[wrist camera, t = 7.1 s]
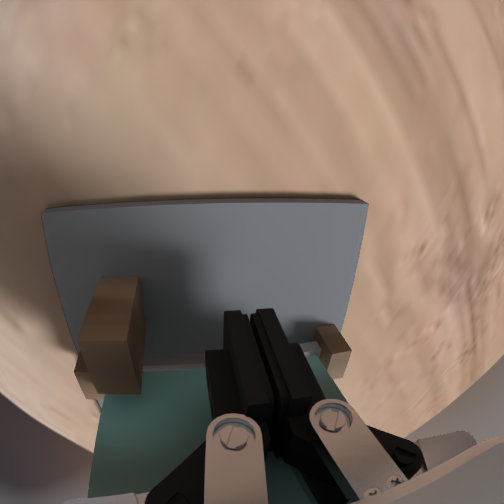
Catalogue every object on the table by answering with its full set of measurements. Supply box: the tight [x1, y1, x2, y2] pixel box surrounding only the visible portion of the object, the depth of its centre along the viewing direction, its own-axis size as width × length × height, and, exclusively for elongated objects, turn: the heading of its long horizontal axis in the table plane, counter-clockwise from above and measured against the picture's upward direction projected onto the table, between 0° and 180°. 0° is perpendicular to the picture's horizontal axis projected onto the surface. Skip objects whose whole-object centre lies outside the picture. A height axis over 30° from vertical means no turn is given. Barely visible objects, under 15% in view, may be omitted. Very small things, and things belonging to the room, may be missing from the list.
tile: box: [88, 355, 348, 504], centre depth 8 cm, size 9×9×1 cm
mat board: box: [41, 198, 369, 409], centre depth 15 cm, size 18×13×1 cm
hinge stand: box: [74, 276, 352, 400], centre depth 12 cm, size 5×12×4 cm, turn 87°
